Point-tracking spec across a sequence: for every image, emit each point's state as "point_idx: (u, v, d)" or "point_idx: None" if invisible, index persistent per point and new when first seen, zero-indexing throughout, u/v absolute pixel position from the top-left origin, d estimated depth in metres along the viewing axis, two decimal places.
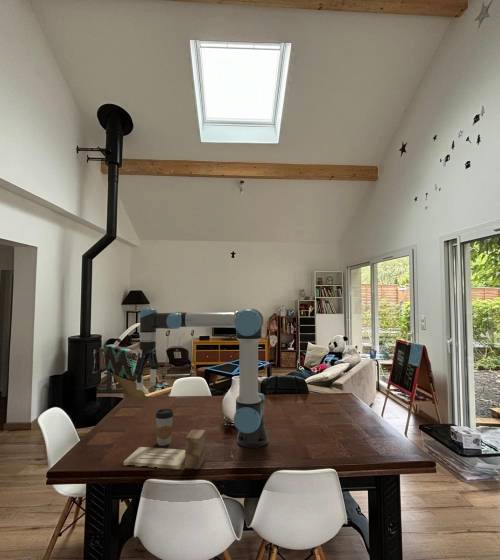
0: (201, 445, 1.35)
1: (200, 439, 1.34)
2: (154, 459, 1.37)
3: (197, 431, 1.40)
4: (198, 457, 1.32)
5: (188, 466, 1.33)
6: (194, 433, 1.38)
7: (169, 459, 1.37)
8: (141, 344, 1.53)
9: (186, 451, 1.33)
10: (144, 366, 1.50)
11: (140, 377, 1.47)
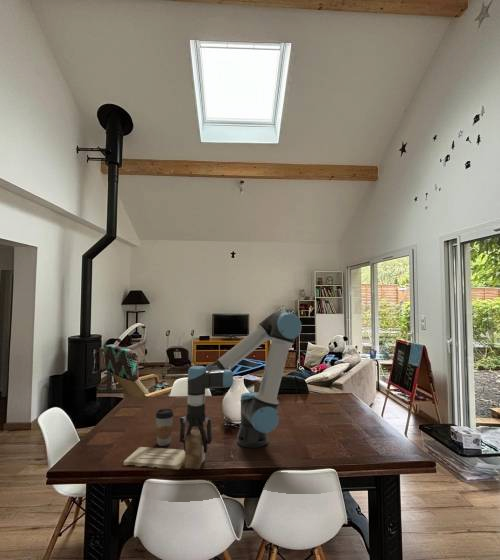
0: (201, 445, 1.35)
1: (200, 439, 1.34)
2: (154, 459, 1.37)
3: (197, 431, 1.40)
4: (198, 457, 1.32)
5: (188, 466, 1.33)
6: (194, 433, 1.38)
7: (169, 459, 1.37)
8: None
9: (186, 451, 1.33)
10: (187, 433, 1.37)
11: None
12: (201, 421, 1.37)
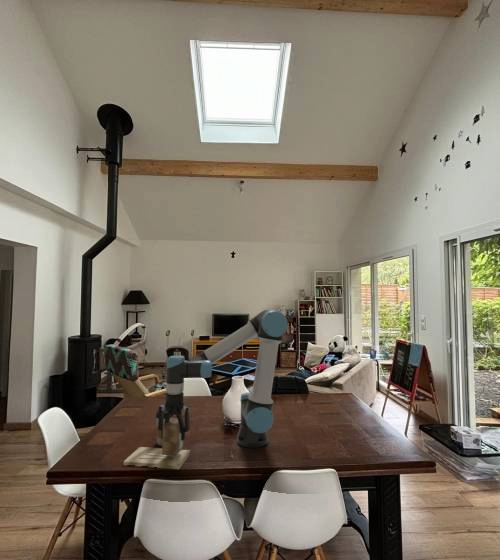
0: None
1: (177, 427, 1.37)
2: (154, 459, 1.37)
3: (176, 419, 1.43)
4: (175, 444, 1.35)
5: (165, 453, 1.35)
6: (172, 421, 1.40)
7: (169, 459, 1.37)
8: None
9: (163, 438, 1.36)
10: (166, 421, 1.40)
11: None
12: (179, 409, 1.39)
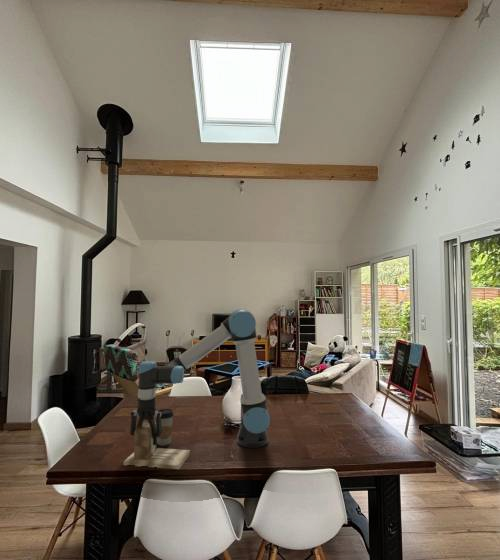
0: (150, 437, 1.40)
1: (149, 431, 1.38)
2: (154, 459, 1.37)
3: (148, 423, 1.45)
4: (146, 448, 1.37)
5: (137, 457, 1.37)
6: (144, 426, 1.42)
7: (169, 459, 1.37)
8: None
9: (135, 442, 1.37)
10: (138, 426, 1.41)
11: None
12: (151, 414, 1.41)
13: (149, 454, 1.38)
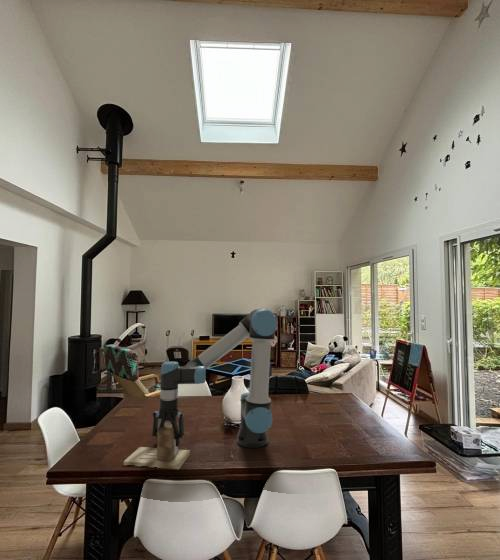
0: (173, 438, 1.38)
1: (172, 432, 1.37)
2: (154, 459, 1.37)
3: (170, 424, 1.43)
4: (169, 449, 1.35)
5: (160, 458, 1.35)
6: (166, 426, 1.40)
7: None
8: None
9: (158, 443, 1.36)
10: (160, 427, 1.40)
11: None
12: (173, 415, 1.40)
13: (172, 455, 1.37)
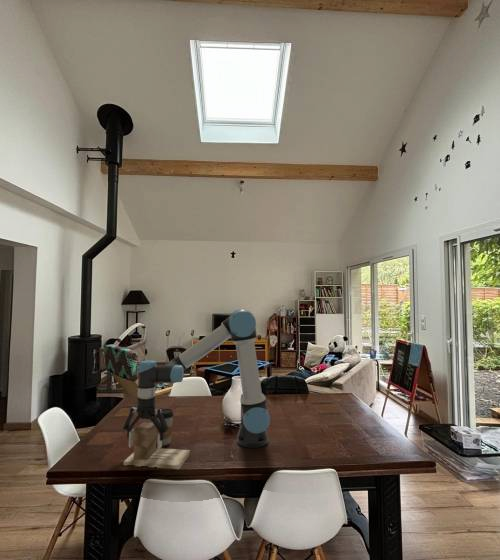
0: (150, 437, 1.40)
1: (149, 431, 1.38)
2: (154, 459, 1.37)
3: (148, 423, 1.45)
4: (146, 448, 1.37)
5: (136, 457, 1.37)
6: (144, 426, 1.42)
7: (169, 459, 1.37)
8: None
9: (135, 442, 1.37)
10: (133, 423, 1.42)
11: (128, 433, 1.42)
12: (150, 413, 1.41)
13: (149, 454, 1.38)
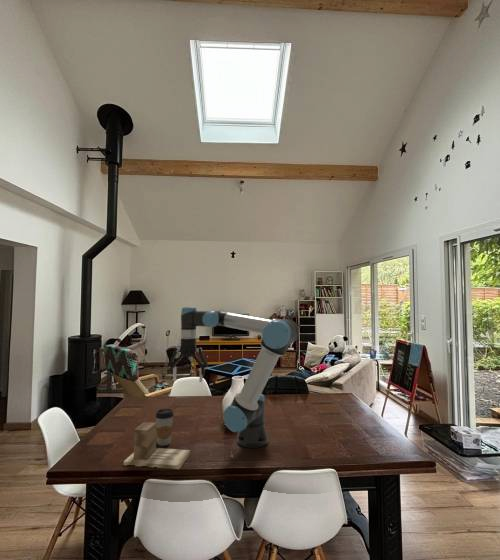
0: (150, 437, 1.40)
1: (149, 431, 1.38)
2: (154, 459, 1.37)
3: (148, 423, 1.45)
4: (146, 448, 1.37)
5: (136, 457, 1.37)
6: (144, 426, 1.42)
7: (169, 459, 1.37)
8: None
9: (135, 442, 1.37)
10: (177, 360, 1.62)
11: (172, 369, 1.62)
12: (192, 352, 1.61)
13: (149, 454, 1.38)
